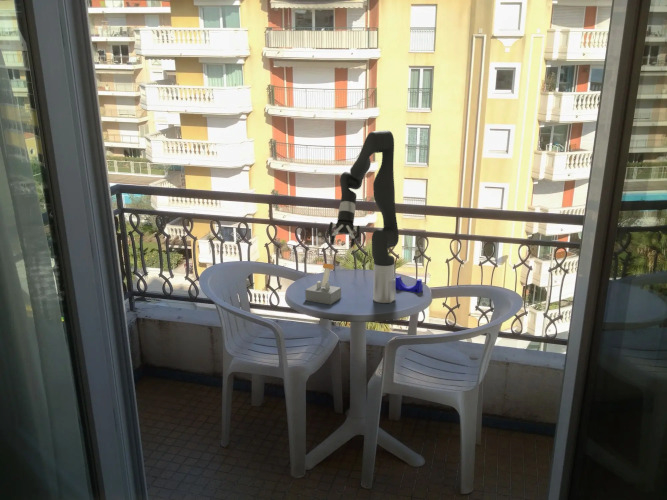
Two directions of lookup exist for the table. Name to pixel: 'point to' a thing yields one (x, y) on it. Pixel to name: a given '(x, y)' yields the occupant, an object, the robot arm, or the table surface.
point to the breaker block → (323, 293)
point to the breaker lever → (326, 273)
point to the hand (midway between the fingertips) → (342, 245)
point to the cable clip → (402, 286)
